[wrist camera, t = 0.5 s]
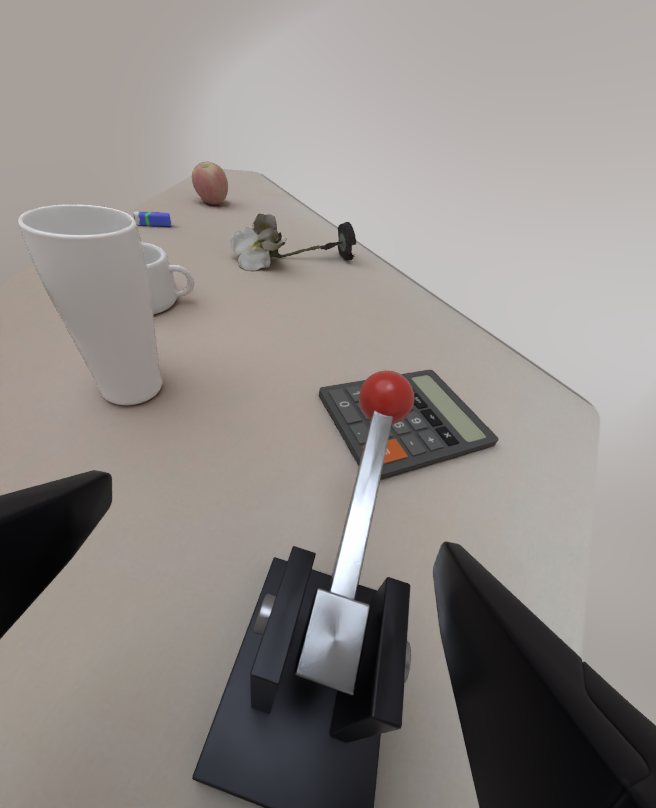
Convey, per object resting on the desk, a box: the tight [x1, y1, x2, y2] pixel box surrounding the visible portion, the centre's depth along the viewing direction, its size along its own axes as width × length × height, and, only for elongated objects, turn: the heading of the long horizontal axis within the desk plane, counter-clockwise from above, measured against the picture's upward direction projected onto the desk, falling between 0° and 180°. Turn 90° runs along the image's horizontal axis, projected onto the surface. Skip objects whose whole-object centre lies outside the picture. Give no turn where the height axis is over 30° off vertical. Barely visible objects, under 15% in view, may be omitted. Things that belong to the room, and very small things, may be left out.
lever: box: [295, 371, 414, 695], centre depth 17 cm, size 15×3×3 cm, turn 166°
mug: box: [141, 242, 194, 314], centre depth 43 cm, size 12×10×6 cm
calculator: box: [319, 370, 498, 479], centre depth 35 cm, size 12×1×15 cm
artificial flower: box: [231, 214, 356, 271], centre depth 60 cm, size 9×22×10 cm, turn 113°
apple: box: [192, 162, 228, 205], centre depth 77 cm, size 8×8×8 cm
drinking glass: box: [18, 204, 162, 405], centre depth 28 cm, size 7×7×15 cm
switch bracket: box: [192, 546, 411, 808], centre depth 16 cm, size 10×8×10 cm
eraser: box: [134, 211, 171, 227], centre depth 64 cm, size 2×6×2 cm, turn 108°
